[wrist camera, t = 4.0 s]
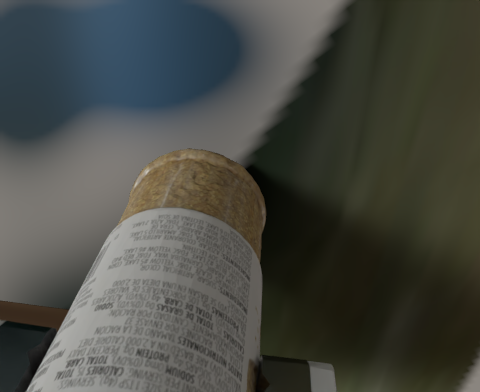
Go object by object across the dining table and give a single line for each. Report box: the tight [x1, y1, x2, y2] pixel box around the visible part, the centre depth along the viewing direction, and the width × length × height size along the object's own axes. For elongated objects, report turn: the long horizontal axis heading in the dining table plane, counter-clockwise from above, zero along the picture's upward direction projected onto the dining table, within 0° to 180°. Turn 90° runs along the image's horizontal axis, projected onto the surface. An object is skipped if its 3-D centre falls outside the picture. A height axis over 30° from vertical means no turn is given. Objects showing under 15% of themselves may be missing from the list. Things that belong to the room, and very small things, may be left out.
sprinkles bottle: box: [26, 148, 266, 392], centre depth 9 cm, size 5×5×13 cm
